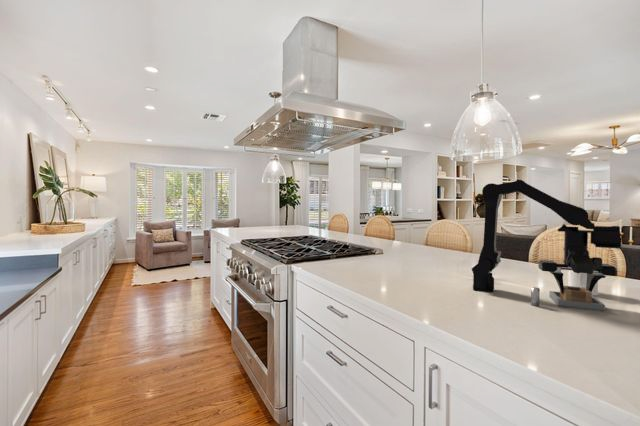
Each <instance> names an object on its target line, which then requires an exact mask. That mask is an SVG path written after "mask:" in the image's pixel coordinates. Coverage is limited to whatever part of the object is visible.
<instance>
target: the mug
mask: <svg viewBox="0 0 640 426" xmlns="http://www.w3.org/2000/svg"><path fill="white" fill-rule="evenodd" d="M567 282H568V285H567V286H574V287H584V288H586V284H587V273H575V272H573V270H568V281H567ZM599 295H600V294H599V281H598V282H597V283H596V284H595V286H594V288H593V290H592V296H593V297H595V296H599Z"/></svg>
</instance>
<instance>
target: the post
mask: <svg viewBox="0 0 640 426" xmlns="http://www.w3.org/2000/svg"><path fill="white" fill-rule="evenodd" d="M540 298H541V297H540V287H535V286H533V287H531V288H530V305H531V306H533V307H540Z"/></svg>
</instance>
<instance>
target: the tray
mask: <svg viewBox="0 0 640 426" xmlns="http://www.w3.org/2000/svg"><path fill="white" fill-rule="evenodd" d="M548 296H549V298H550V299H551V300H552V302H554V303H555V304H556V305H557V307H559V308H568V309H569V308H570V309H576V310H577V309H578V310H589V311H597V312H605V311H606V304H605V303H603V302H601V301H600V300H599V299H597V298H596V297H595V296H592V303H588V302H578V301H568V300H562V299H561V298H560V291H553V290H549V295H548Z"/></svg>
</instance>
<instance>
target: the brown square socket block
mask: <svg viewBox="0 0 640 426" xmlns="http://www.w3.org/2000/svg"><path fill="white" fill-rule="evenodd" d="M559 292H560V298H561V299H562V300H568V301H578V302H588V303H592V292H590V291H589V290H587V289H586V288H584V287H574V286H568V285H564V290H563V293H561V291H560V290H559Z"/></svg>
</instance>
